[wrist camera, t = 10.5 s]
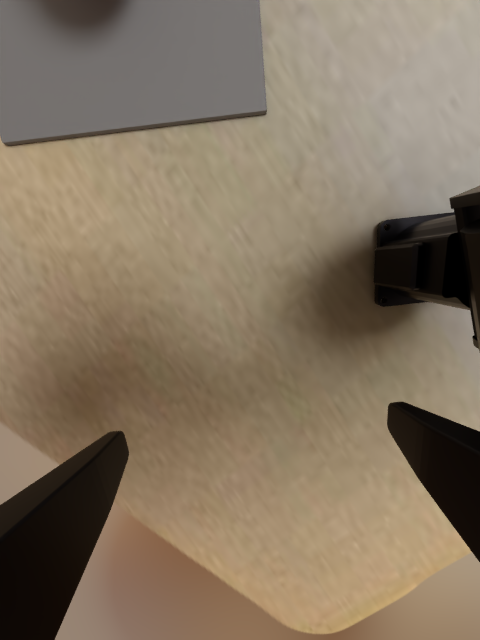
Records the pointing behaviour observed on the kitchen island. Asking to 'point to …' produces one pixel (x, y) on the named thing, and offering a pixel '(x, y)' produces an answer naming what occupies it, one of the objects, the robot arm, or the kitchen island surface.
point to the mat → (126, 65)
